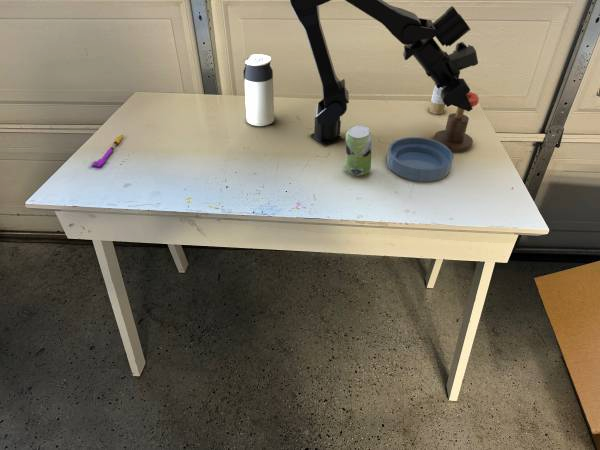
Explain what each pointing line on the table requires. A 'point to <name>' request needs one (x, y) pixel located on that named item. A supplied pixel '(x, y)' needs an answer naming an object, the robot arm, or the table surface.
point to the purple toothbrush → (107, 153)
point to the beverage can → (358, 150)
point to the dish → (419, 158)
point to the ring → (472, 98)
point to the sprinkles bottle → (437, 101)
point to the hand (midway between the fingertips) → (467, 104)
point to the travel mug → (259, 90)
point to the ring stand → (455, 133)
